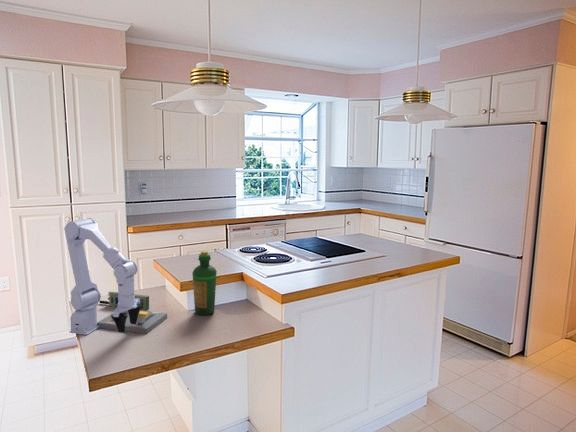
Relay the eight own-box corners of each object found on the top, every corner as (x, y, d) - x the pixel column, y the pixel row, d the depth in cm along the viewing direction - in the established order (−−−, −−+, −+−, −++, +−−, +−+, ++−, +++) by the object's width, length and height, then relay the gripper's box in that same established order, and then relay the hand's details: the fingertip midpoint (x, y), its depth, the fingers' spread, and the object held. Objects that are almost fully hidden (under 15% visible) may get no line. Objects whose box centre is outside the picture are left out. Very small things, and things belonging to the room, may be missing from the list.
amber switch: (145, 324, 159) (145, 314, 159) (132, 322, 161) (132, 312, 160) (149, 321, 162) (148, 312, 161) (135, 320, 163) (135, 310, 162)
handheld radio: (146, 311, 179) (97, 305, 184) (150, 309, 182) (102, 303, 188) (146, 297, 178) (97, 291, 184) (150, 295, 181) (102, 289, 187)
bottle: (190, 309, 182) (190, 249, 178) (214, 306, 186) (214, 248, 182) (194, 318, 172) (194, 255, 168) (219, 315, 176) (219, 253, 172)
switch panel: (146, 333, 157) (146, 328, 156) (97, 327, 161) (97, 322, 161) (167, 317, 172) (167, 313, 172) (121, 312, 177) (121, 307, 176)
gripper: (124, 301, 143) (125, 337, 145) (146, 288, 157) (147, 321, 159) (106, 299, 144) (108, 335, 146) (130, 286, 158) (131, 319, 160)
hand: (127, 327), depth 152 cm, fingers open, 7 cm apart
